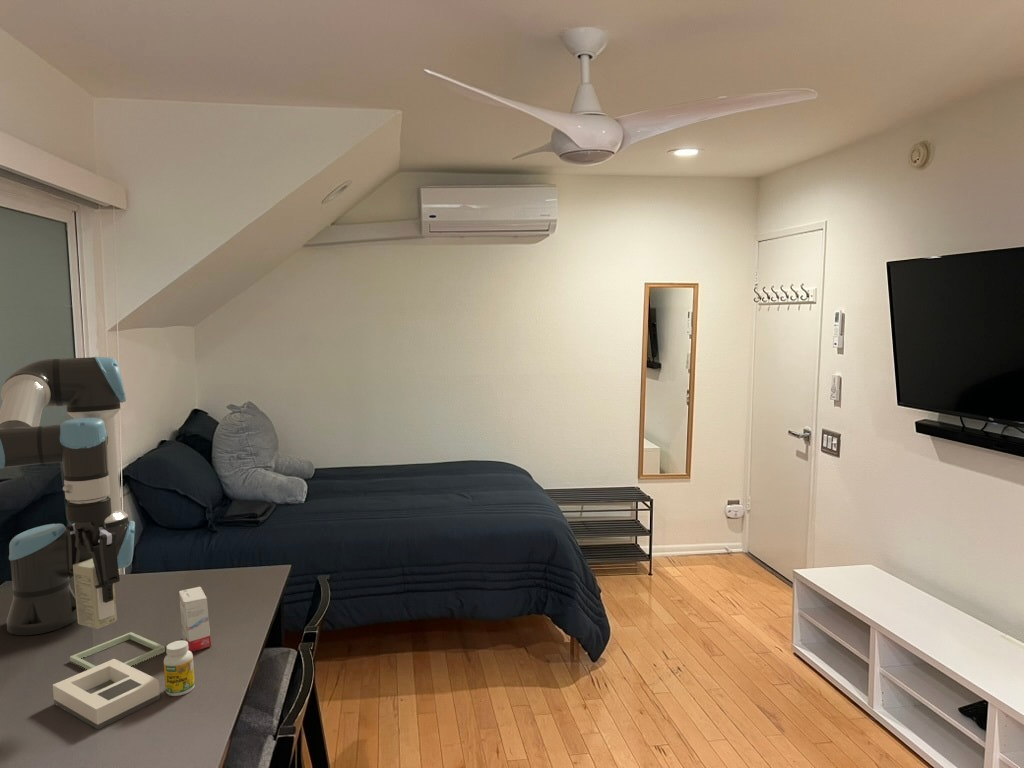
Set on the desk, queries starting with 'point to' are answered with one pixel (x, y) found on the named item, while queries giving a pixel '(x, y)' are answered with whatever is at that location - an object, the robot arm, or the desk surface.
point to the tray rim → (155, 646)
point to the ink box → (195, 618)
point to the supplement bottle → (178, 669)
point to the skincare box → (89, 596)
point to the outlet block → (106, 693)
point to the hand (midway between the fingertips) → (96, 612)
